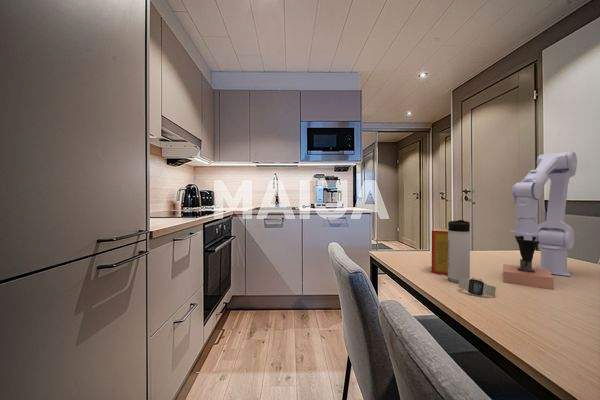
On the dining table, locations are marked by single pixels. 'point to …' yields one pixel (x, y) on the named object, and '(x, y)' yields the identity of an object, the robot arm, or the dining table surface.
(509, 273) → the socket block
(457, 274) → the travel mug
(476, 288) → the wristwatch
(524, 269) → the peg
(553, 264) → the robot arm
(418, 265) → the dining table surface
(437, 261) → the baking soda box
